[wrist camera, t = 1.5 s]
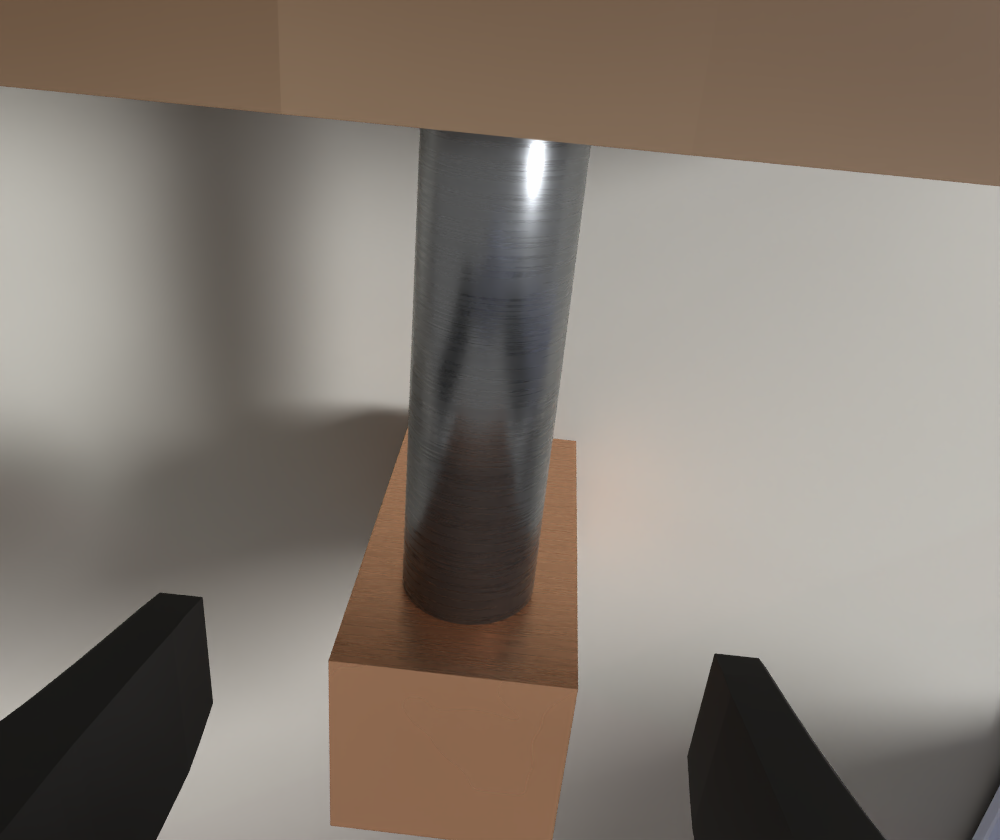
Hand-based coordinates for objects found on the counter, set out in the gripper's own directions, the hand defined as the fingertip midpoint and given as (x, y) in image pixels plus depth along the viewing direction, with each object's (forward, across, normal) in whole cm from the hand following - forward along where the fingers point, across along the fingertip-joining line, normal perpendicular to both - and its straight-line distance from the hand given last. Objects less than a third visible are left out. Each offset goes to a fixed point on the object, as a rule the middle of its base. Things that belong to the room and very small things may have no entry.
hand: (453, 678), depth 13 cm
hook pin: (+5, 0, -5) cm, 7 cm away
